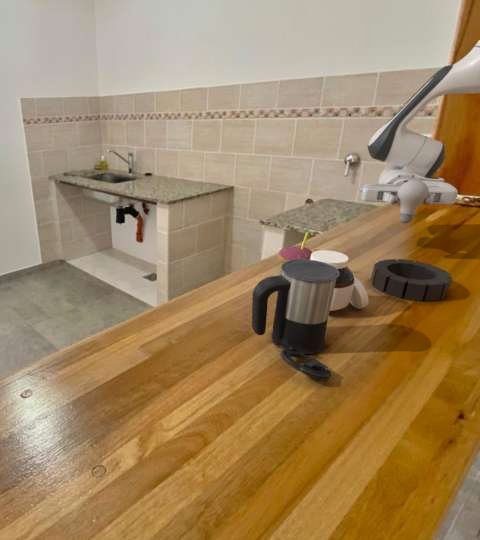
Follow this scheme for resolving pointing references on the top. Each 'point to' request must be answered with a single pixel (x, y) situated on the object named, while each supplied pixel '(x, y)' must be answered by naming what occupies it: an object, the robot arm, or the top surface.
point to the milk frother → (298, 311)
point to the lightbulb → (411, 198)
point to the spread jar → (342, 282)
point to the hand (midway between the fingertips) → (411, 201)
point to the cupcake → (295, 252)
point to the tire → (411, 280)
